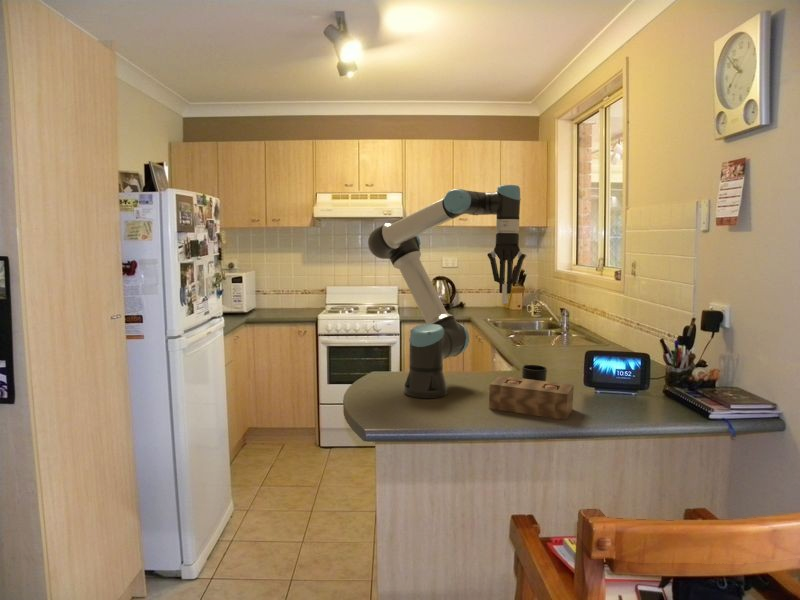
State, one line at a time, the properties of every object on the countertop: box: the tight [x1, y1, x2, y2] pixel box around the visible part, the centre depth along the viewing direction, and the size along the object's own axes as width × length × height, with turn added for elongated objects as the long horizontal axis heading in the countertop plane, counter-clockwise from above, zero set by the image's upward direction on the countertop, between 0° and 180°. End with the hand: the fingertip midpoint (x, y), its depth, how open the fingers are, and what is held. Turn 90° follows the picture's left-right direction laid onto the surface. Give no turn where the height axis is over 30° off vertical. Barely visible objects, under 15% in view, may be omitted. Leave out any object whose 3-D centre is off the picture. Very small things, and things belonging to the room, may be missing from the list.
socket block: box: [488, 375, 575, 421], centre depth 179 cm, size 24×12×8 cm, turn 64°
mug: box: [521, 364, 548, 381], centre depth 197 cm, size 8×12×10 cm
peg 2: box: [545, 385, 557, 390], centre depth 176 cm, size 4×4×8 cm
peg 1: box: [508, 381, 519, 385], centre depth 181 cm, size 4×4×8 cm
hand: (505, 303), depth 189 cm, fingers closed
